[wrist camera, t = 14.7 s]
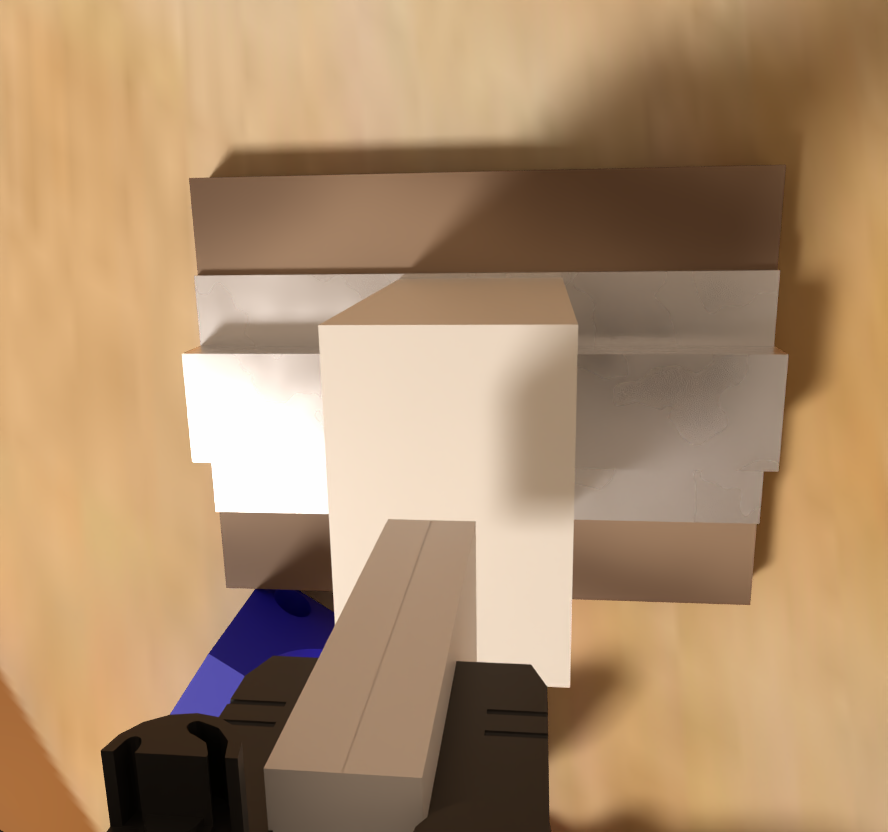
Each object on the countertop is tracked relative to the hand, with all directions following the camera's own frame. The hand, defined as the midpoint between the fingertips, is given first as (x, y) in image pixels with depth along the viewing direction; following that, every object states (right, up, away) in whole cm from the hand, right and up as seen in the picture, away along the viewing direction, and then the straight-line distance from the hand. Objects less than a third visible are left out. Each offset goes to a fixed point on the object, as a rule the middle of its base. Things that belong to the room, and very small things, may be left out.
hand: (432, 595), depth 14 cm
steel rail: (+1, +4, +13) cm, 13 cm away
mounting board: (+1, +4, +14) cm, 15 cm away
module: (+1, +4, +12) cm, 13 cm away
